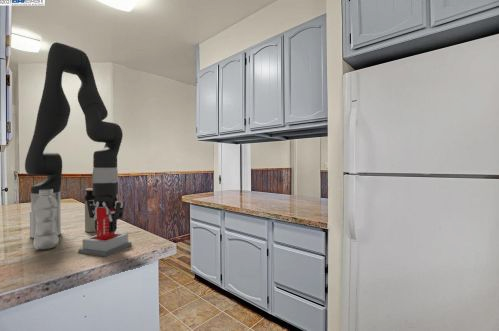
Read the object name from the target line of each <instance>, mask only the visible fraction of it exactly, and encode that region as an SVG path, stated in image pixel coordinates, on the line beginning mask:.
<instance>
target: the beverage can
mask: <svg viewBox="0 0 499 331" xmlns="http://www.w3.org/2000/svg"><path fill="white" fill-rule="evenodd" d="M109 211H110V212H112V211H114V209H111V210H110V209H109ZM112 217H113V214H112ZM109 222H110V221H109V217H108V215H106V209H105V207H103V206H99V207H98V208H97V232H96V235H97V240H109V239H111V238H114V237H115V233H116V231H115V232H113V233H110V232H109Z"/></svg>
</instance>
